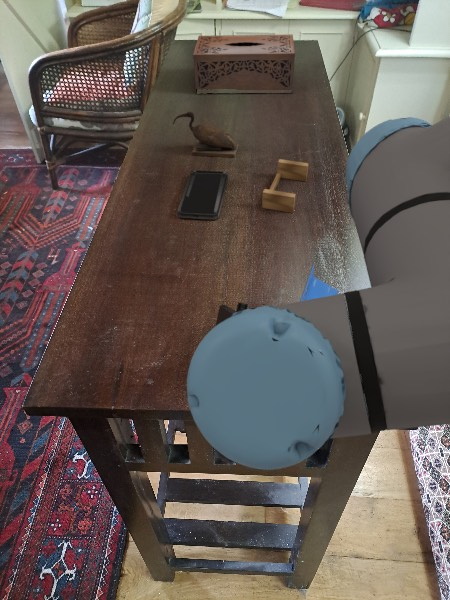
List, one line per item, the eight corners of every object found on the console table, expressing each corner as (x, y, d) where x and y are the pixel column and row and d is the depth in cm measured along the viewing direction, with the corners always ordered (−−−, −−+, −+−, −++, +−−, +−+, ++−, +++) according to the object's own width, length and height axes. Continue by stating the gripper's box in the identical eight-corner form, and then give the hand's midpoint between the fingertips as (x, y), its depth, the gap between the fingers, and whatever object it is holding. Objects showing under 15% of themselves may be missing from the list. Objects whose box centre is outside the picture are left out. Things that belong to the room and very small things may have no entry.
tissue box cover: (196, 94, 124) (193, 54, 116) (201, 73, 133) (198, 35, 126) (292, 93, 122) (295, 53, 115) (289, 72, 132) (292, 34, 125)
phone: (228, 171, 94) (217, 215, 84) (228, 176, 95) (218, 220, 85) (190, 170, 95) (175, 213, 85) (191, 175, 96) (176, 217, 86)
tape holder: (307, 178, 94) (308, 163, 91) (292, 213, 86) (294, 197, 83) (278, 174, 95) (279, 158, 93) (262, 207, 87) (262, 192, 85)
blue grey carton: (318, 380, 60) (330, 318, 51) (288, 372, 61) (296, 310, 52) (330, 330, 66) (344, 267, 57) (304, 323, 67) (313, 260, 58)
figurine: (173, 154, 102) (168, 116, 96) (178, 144, 105) (174, 106, 99) (235, 157, 100) (234, 119, 94) (238, 147, 103) (238, 109, 97)
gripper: (138, 358, 39) (210, 337, 59) (454, 450, 32) (412, 390, 53) (156, 271, 38) (223, 280, 59) (481, 347, 32) (428, 327, 52)
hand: (313, 332), depth 56 cm, fingers open, 13 cm apart
